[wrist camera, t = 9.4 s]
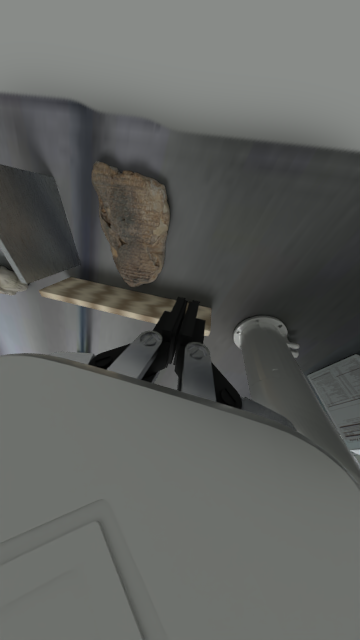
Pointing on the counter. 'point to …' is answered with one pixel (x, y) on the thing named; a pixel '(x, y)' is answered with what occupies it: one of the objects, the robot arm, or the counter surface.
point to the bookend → (34, 225)
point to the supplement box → (341, 397)
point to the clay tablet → (133, 221)
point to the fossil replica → (10, 282)
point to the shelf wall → (117, 300)
